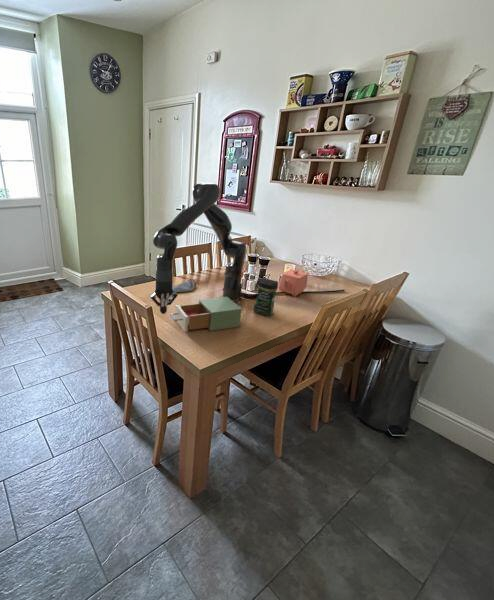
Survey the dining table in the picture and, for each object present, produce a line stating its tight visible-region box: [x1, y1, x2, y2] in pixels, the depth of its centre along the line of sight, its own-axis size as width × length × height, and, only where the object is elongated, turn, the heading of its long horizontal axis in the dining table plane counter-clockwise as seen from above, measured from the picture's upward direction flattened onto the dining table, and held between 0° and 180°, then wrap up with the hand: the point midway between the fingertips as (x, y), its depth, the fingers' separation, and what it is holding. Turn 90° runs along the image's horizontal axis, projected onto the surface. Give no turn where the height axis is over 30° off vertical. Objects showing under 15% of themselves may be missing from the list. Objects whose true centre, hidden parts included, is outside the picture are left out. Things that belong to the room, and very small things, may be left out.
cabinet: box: [198, 297, 243, 331], centre depth 161 cm, size 16×15×10 cm
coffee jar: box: [253, 277, 279, 317], centre depth 169 cm, size 10×8×19 cm
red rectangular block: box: [184, 310, 197, 325], centre depth 157 cm, size 6×10×4 cm, turn 18°
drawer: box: [169, 302, 211, 333], centre depth 157 cm, size 19×13×8 cm
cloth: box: [172, 279, 196, 294], centre depth 202 cm, size 26×14×2 cm, turn 131°
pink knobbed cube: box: [278, 269, 308, 297], centre depth 196 cm, size 22×13×14 cm, turn 134°
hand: (163, 313), depth 151 cm, fingers closed
